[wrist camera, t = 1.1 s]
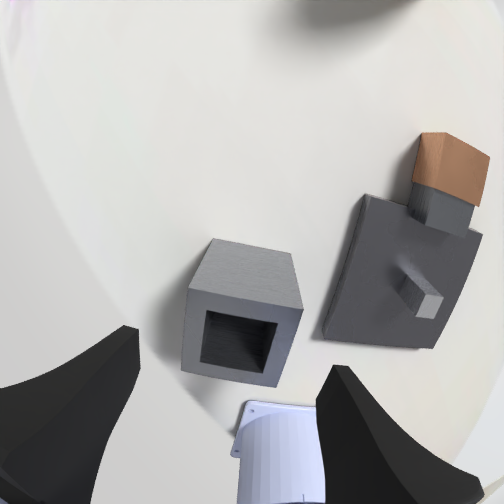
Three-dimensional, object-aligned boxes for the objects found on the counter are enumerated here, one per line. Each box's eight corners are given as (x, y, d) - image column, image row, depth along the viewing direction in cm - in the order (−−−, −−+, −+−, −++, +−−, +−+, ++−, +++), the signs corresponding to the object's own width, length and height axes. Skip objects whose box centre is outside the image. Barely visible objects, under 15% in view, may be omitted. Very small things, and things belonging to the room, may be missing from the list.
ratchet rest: (427, 341, 18) (447, 369, 15) (321, 329, 18) (331, 365, 15) (490, 167, 14) (524, 175, 10) (382, 117, 13) (411, 111, 10)
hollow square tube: (273, 318, 18) (276, 387, 12) (203, 305, 18) (180, 370, 12) (290, 253, 16) (303, 309, 11) (213, 238, 16) (188, 287, 11)
